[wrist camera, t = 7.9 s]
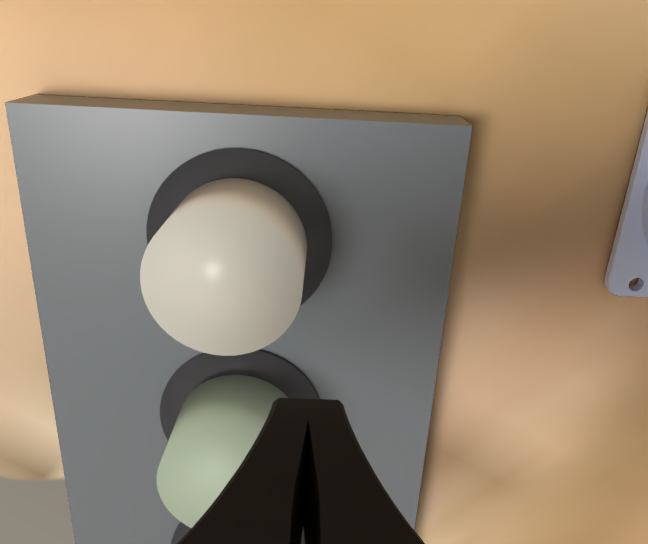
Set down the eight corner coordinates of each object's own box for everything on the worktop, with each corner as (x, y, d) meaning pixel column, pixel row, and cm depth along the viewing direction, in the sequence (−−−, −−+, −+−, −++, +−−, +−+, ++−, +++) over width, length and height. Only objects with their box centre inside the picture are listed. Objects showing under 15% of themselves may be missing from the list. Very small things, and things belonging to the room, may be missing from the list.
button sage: (301, 378, 21) (297, 433, 18) (298, 476, 23) (293, 540, 20) (176, 371, 21) (151, 426, 18) (181, 470, 23) (160, 534, 20)
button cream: (309, 181, 18) (305, 211, 15) (304, 311, 20) (300, 359, 17) (164, 174, 18) (133, 203, 15) (172, 304, 20) (145, 351, 17)
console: (459, 115, 20) (473, 127, 18) (396, 586, 28) (400, 630, 26) (35, 94, 20) (1, 103, 18) (102, 572, 28) (84, 616, 26)
